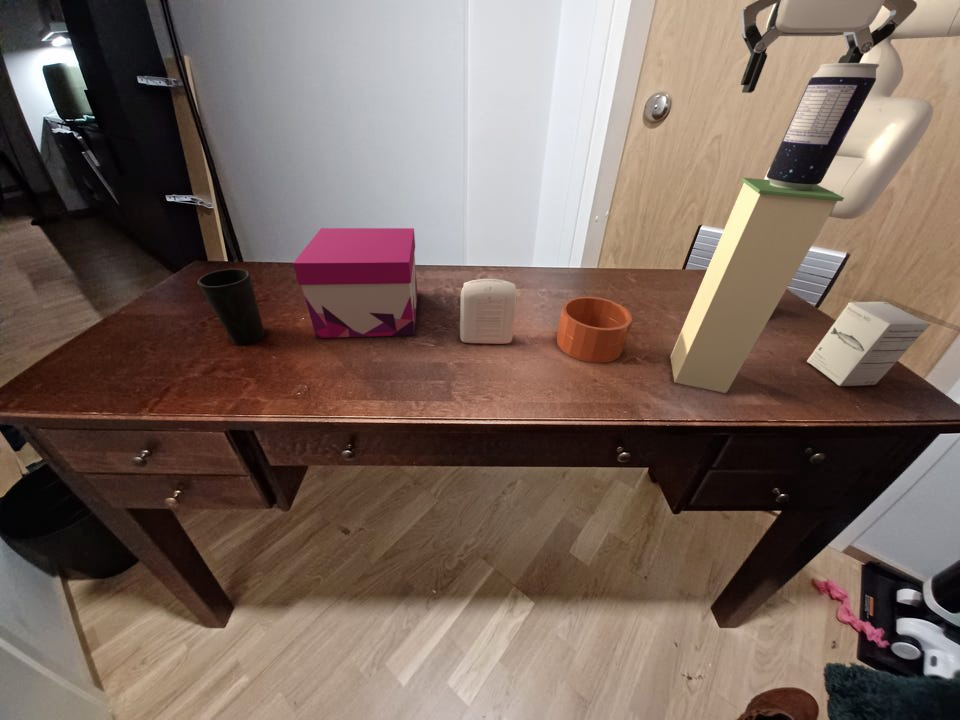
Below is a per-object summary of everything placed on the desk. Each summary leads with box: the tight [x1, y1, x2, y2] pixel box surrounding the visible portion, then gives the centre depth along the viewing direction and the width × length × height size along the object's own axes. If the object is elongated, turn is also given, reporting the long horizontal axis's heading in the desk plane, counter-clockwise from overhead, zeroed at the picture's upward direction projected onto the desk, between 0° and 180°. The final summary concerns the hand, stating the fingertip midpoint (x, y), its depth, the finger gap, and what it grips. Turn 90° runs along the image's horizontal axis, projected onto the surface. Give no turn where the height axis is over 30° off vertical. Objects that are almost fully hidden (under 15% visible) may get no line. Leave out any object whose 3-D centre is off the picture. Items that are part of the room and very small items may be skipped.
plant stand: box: [669, 182, 837, 394], centre depth 55 cm, size 8×8×30 cm
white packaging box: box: [806, 301, 932, 387], centre depth 62 cm, size 7×7×13 cm
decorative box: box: [292, 227, 418, 339], centre depth 73 cm, size 19×19×15 cm
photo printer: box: [459, 278, 518, 345], centre depth 67 cm, size 10×4×12 cm, turn 92°
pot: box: [556, 296, 633, 364], centre depth 69 cm, size 12×12×7 cm
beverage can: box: [766, 62, 879, 190], centre depth 42 cm, size 6×6×12 cm
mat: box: [741, 177, 844, 201], centre depth 46 cm, size 9×9×1 cm
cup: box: [197, 268, 266, 346], centre depth 66 cm, size 8×8×12 cm
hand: (788, 93), depth 48 cm, fingers open, 9 cm apart
